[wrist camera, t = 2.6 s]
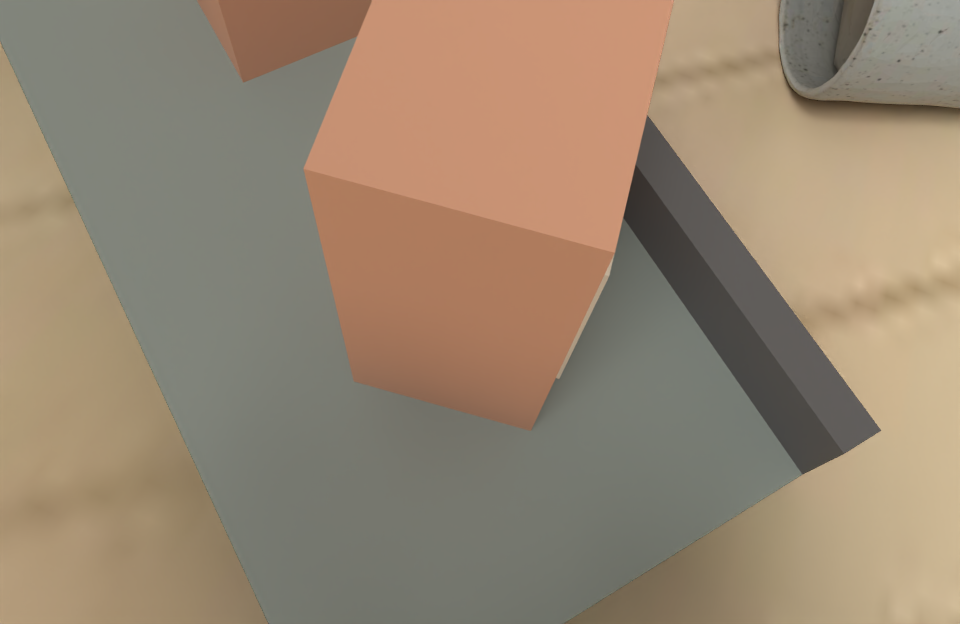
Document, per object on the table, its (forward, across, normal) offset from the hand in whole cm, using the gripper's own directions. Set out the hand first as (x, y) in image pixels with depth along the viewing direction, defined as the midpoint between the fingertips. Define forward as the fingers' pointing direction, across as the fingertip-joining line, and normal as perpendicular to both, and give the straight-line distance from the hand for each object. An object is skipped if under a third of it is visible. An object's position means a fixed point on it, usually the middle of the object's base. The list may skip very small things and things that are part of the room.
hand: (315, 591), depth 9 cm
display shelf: (+19, +5, +3) cm, 20 cm away
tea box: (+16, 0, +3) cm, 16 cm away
